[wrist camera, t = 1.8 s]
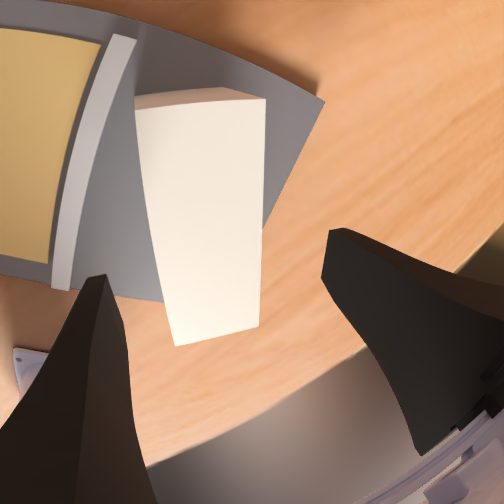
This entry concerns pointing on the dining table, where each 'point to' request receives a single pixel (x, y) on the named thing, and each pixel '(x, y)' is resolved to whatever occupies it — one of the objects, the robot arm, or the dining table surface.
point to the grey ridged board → (106, 138)
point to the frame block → (204, 205)
